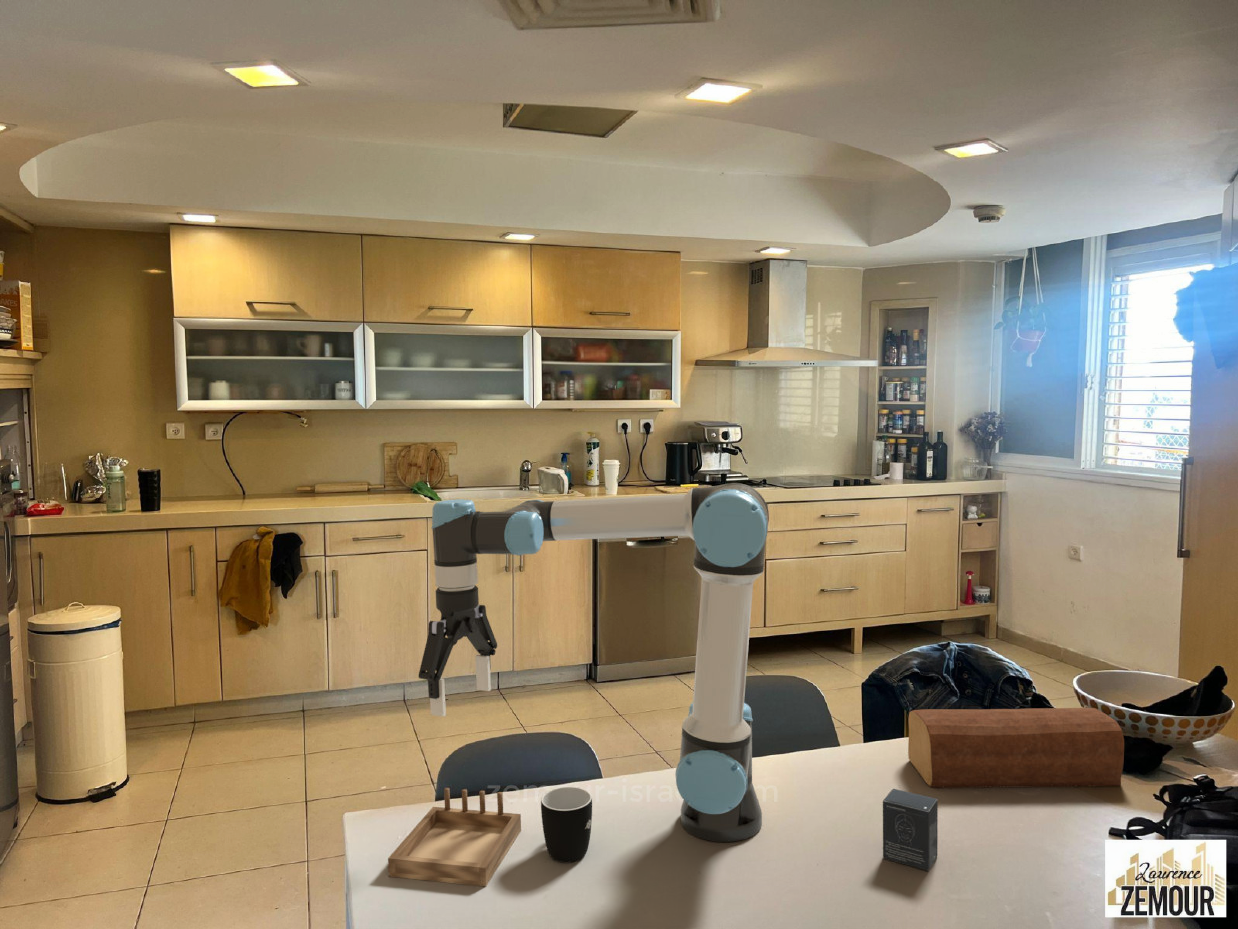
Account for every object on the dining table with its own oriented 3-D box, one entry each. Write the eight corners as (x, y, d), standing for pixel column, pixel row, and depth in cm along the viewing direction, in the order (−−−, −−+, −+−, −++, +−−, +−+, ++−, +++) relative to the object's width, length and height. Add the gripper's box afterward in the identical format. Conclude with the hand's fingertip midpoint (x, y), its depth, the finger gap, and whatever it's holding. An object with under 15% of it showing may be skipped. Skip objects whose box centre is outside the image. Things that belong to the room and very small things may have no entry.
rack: (521, 830, 160) (519, 793, 159) (486, 886, 142) (484, 844, 142) (433, 823, 164) (432, 786, 163) (388, 876, 146) (386, 835, 145)
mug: (593, 866, 148) (592, 809, 147) (540, 868, 147) (539, 811, 146) (593, 831, 159) (591, 778, 159) (544, 832, 159) (543, 779, 158)
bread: (1126, 790, 172) (1128, 724, 171) (929, 791, 173) (930, 726, 172) (1085, 757, 187) (1087, 697, 186) (905, 759, 188) (906, 699, 187)
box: (937, 857, 148) (938, 798, 147) (928, 872, 144) (929, 811, 143) (892, 844, 153) (892, 786, 152) (881, 858, 148) (882, 799, 147)
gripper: (480, 571, 167) (484, 678, 169) (393, 600, 144) (399, 723, 146) (512, 573, 163) (517, 682, 165) (429, 604, 141) (435, 730, 143)
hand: (462, 702), depth 156 cm, fingers open, 13 cm apart
